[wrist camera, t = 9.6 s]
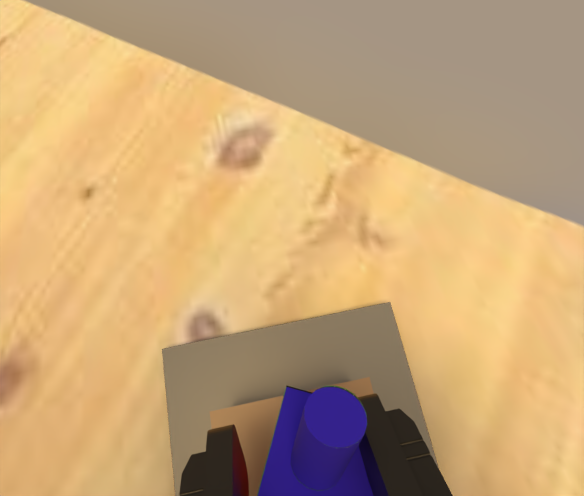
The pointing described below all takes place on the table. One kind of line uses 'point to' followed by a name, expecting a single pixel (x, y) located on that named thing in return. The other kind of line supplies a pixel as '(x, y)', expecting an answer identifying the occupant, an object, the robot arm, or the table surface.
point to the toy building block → (317, 446)
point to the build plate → (281, 379)
